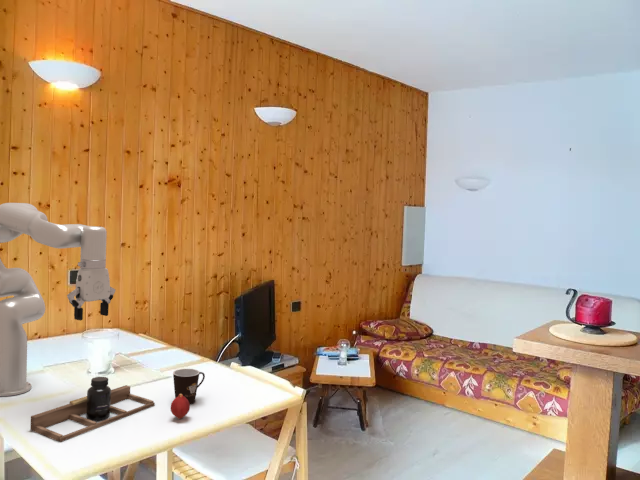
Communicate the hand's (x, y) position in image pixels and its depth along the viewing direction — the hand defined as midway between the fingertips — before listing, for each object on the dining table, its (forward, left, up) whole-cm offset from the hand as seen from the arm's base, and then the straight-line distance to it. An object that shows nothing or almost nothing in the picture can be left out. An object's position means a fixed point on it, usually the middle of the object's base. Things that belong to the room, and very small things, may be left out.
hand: (91, 317), depth 176 cm
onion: (+32, +8, -28) cm, 44 cm away
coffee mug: (+24, +21, -28) cm, 43 cm away
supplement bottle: (+12, -6, -28) cm, 31 cm away
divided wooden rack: (+12, -6, -28) cm, 31 cm away
